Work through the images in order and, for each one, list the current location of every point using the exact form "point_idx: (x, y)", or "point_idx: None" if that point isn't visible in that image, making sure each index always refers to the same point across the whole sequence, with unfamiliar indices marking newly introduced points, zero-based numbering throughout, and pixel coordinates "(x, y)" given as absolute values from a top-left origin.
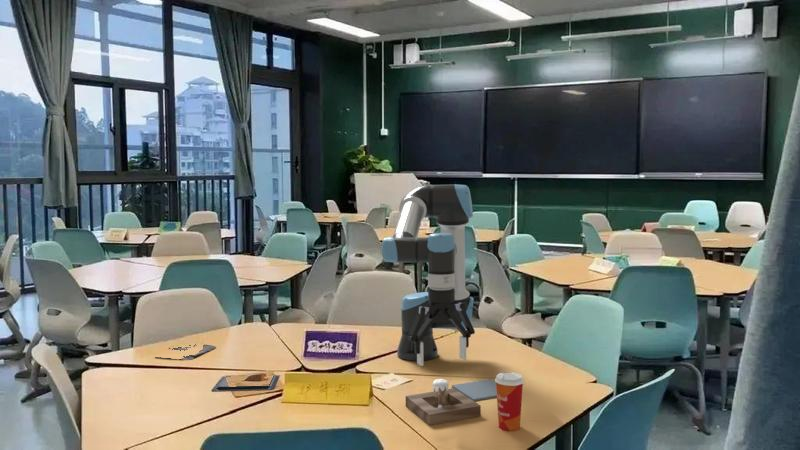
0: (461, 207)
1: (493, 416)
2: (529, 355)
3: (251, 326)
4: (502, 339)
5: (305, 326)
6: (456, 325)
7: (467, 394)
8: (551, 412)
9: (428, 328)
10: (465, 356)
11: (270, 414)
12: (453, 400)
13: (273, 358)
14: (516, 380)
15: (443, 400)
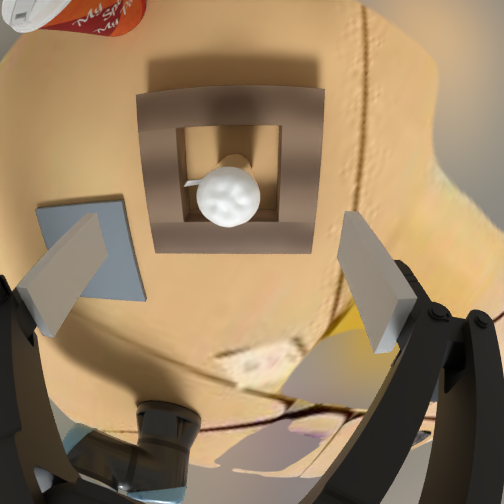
0: None
1: (119, 83)
2: None
3: (316, 475)
4: (50, 395)
5: (269, 474)
6: (24, 391)
7: (126, 237)
8: (13, 86)
9: (382, 424)
10: (80, 221)
11: (491, 293)
12: (183, 189)
13: None
14: None
15: (232, 159)
